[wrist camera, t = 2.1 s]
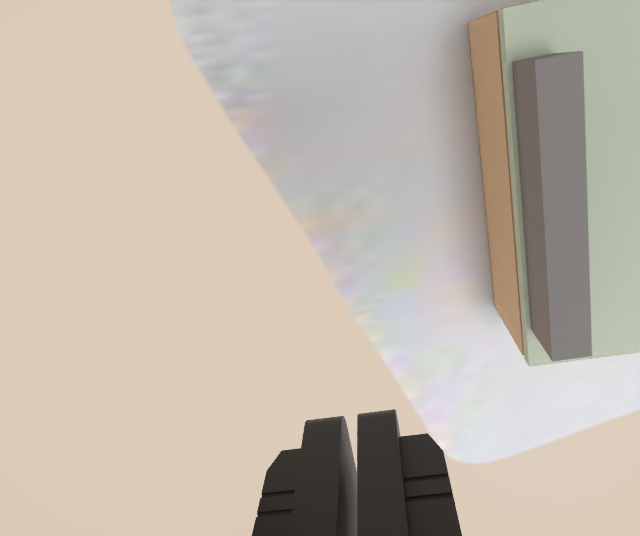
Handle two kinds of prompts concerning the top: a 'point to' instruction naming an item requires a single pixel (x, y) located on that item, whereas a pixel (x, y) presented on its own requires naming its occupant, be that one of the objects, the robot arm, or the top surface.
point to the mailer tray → (496, 169)
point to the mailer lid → (575, 174)
